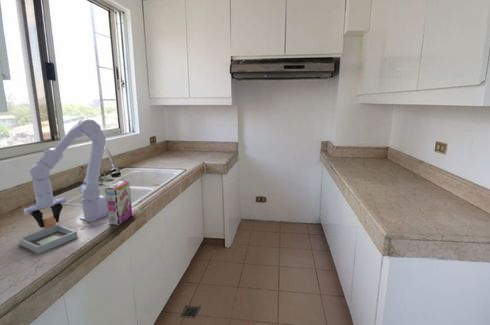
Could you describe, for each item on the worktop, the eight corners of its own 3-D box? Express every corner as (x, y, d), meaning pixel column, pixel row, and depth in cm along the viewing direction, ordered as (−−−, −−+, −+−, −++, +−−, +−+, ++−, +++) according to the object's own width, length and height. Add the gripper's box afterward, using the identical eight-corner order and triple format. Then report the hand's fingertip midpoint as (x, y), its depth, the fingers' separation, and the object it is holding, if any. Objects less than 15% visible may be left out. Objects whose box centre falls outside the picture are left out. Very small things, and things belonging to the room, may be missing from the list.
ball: (53, 224, 115) (51, 213, 114) (59, 226, 112) (57, 215, 111) (40, 229, 111) (37, 217, 109) (46, 231, 108) (44, 220, 107)
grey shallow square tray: (58, 230, 109) (57, 224, 109) (77, 237, 103) (76, 231, 103) (20, 244, 98) (18, 238, 98) (38, 253, 92) (37, 247, 91)
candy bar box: (119, 225, 113) (115, 188, 109) (108, 225, 113) (103, 188, 110) (133, 215, 124) (129, 180, 120) (123, 214, 124) (119, 180, 121)
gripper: (57, 187, 116) (62, 216, 119) (17, 197, 104) (23, 229, 107) (66, 189, 113) (71, 219, 116) (26, 200, 101) (32, 233, 104)
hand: (49, 224), depth 111 cm, fingers closed on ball, 5 cm apart
